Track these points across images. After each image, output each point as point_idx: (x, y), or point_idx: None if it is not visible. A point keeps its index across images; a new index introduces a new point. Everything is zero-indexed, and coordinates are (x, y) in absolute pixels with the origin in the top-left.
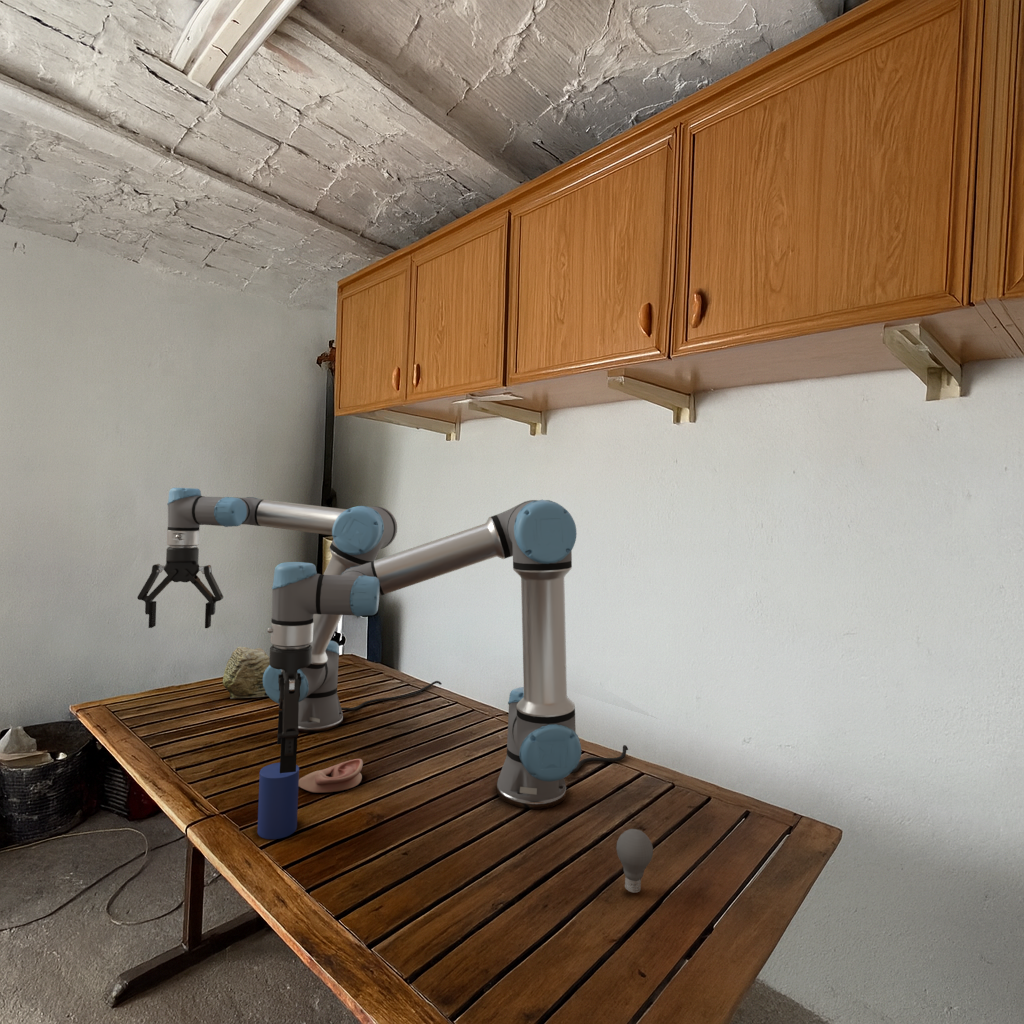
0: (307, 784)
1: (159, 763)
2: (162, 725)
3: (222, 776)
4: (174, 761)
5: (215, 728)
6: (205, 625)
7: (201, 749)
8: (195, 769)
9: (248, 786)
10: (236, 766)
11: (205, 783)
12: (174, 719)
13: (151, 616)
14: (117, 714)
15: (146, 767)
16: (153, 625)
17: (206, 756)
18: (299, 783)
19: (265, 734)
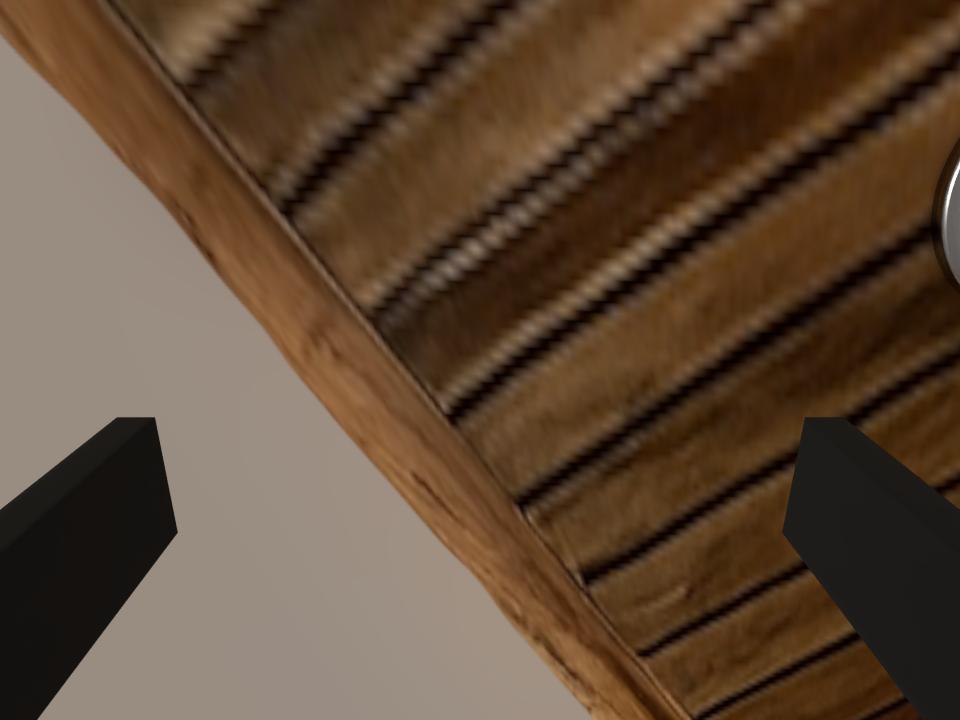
0: None
1: (521, 538)
2: (402, 185)
3: (721, 627)
4: (562, 528)
5: (634, 237)
6: (805, 552)
7: (624, 445)
8: (638, 582)
9: (794, 680)
10: (753, 572)
11: (682, 659)
12: (425, 103)
13: (89, 640)
14: (123, 4)
15: (493, 561)
16: (158, 492)
17: (652, 500)
18: None
19: (841, 319)
